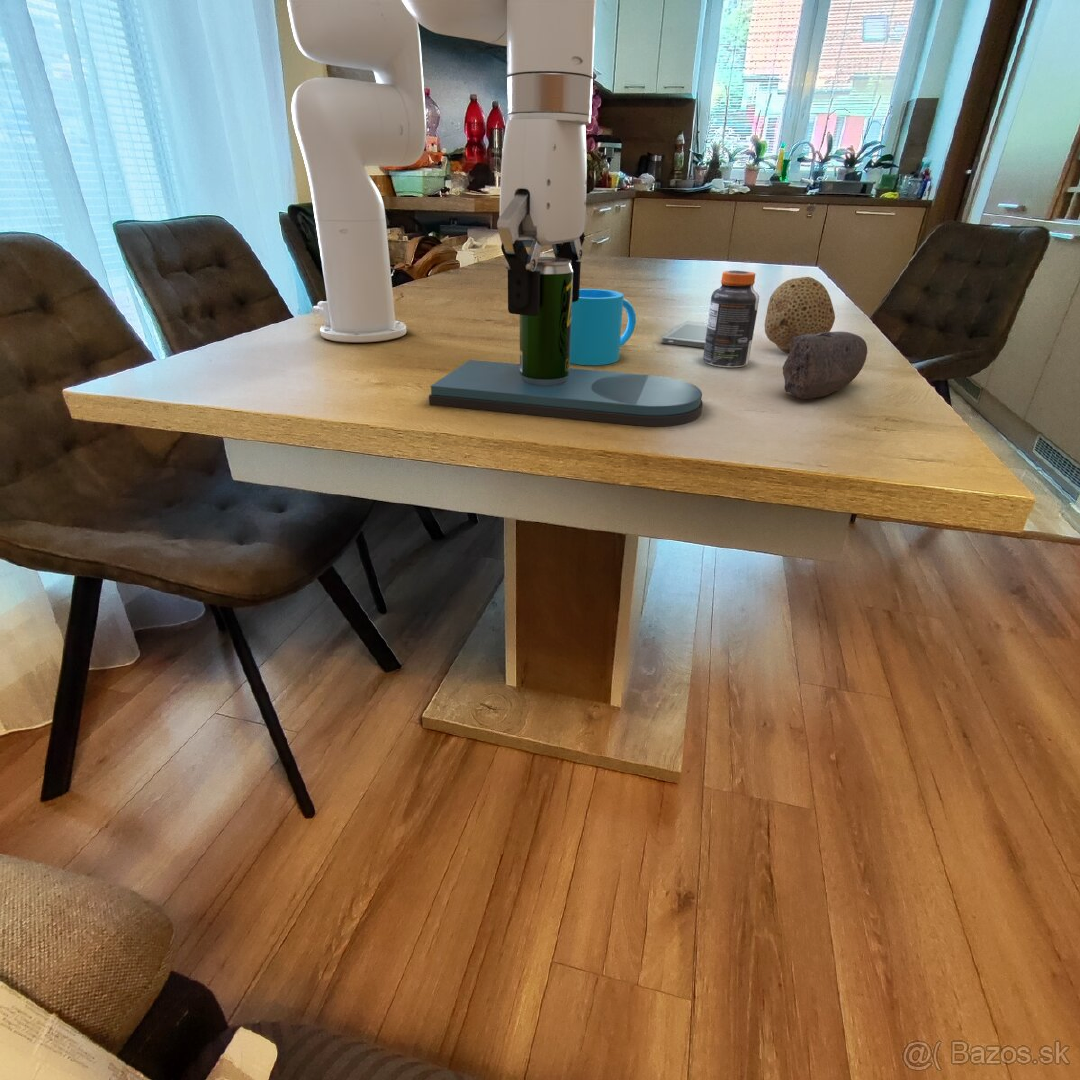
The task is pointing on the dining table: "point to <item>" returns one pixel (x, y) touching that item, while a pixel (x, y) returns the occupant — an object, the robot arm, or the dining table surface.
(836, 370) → the rock
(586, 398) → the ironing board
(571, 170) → the robot arm
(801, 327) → the natural sponge
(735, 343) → the pill bottle
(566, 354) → the beer can
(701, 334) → the smartphone
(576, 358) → the mug
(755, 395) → the dining table surface
